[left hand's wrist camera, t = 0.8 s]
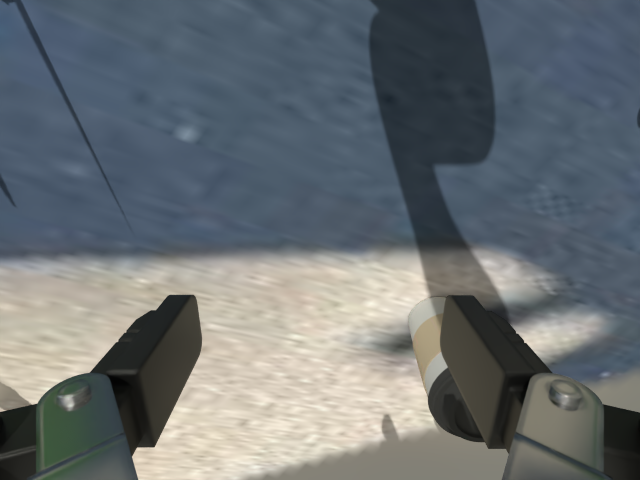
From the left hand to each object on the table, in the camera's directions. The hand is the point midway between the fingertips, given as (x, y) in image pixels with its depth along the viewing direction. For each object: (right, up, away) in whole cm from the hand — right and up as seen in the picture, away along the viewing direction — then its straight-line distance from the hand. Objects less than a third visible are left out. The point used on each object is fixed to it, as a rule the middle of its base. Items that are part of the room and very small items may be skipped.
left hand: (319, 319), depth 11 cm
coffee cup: (+14, -7, +33) cm, 37 cm away
